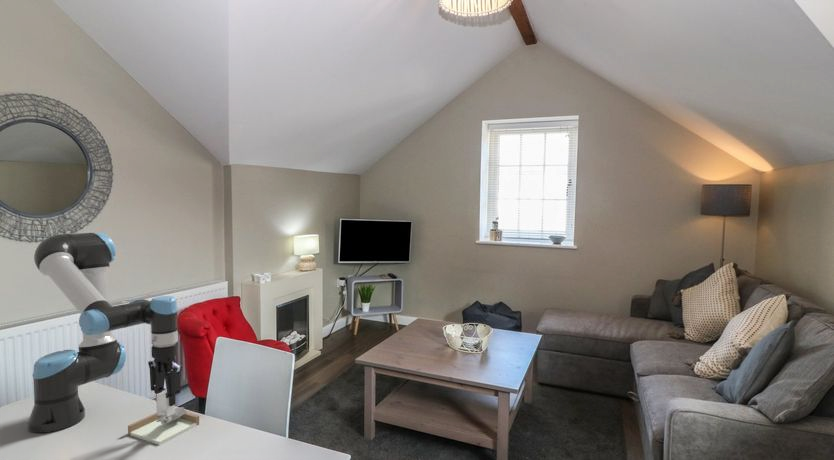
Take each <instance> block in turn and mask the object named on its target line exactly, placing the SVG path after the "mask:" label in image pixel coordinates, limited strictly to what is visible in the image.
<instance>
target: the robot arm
mask: <svg viewBox="0 0 834 460" xmlns="http://www.w3.org/2000/svg"><path fill="white" fill-rule="evenodd" d="M116 253H117V249H116V246H115V243H114V241H113V240H112V238H110V236H109V235H107V234H106V233H102V232H85V233H84V232H83V233H60V234H54V235H51V236H49V237H46V238H45V239H43V240H42V241H40V243H39V244H38V245H37V247H36V249H35V251H34V257H33V259H34V260H33V261H34V264H35V266H36V268H37V269H38V270H39V272H40V273H41V274H42V275H44V276H47V277H49V278H50V279H51V280H52V281H53V283H54V284H55V285H56V286H57V288H58V289H60V291H61V292H62V293H63V295H64V296H65V297H66V298H67V299H68V301H70V303H71V304H72V305H73V307H74V308H75V309H76V310H77V311H78V312H79V314H80V316H79V318H78V323H79V324H78V325H79V327H80V331H81V333H82V341H81V342H80V343H79V345H78V351H77V350H75V349H64V350H59V351H53V352H51V353H48V354H46V355H44V356H42V357H40V358H38V359H37V360H36V361H35V362H34V364H33V372H32V378H33V396H34V397H33V400H34V404H33V407H32V410H31V412H30V416H29V418H28V421H27V429H28V431H29V432H31V433H32V432H33V433H50V432H55V431H59V430H62V429H66V428H69V427H71V426H74V425H75V424H77V423H80V422H81V421H83V419H84V418H85V417H86V409H85V407H84V405H83V402H82V401H81V398H80V396H79V387H80V386H82V385H85V384H89V383H92V382H95V381H99V380H101V379H105V378H109V377H111V376H113V375H116V374H118V373H119V372H121V371H122V370H123V368H124V367H125V364H126V361H127V360H126V359H127V351H126V348H125V346H124V344H123V343H121V342H119V341H118V338H117V337H116V336H113V335H112V331H116V330H120V329H124V328H129V327H134V326H137V325H142V324H145V325H150V333H151V339H150V340H151V345H152V346H151V347H150V348H151V351H150V352H151V358H152V360H150V361H148V362H147V363H148V368H149V382H150V391H152V392H154V394H155V403H156V413H157V414H159V413H161V412H162V411H165V410H166V416H167V417H168V416H170V415H172V414H174V413H175V409H176V396H177V395H178V394H181V388H182V387H181V386H182V385H181V384H182V383H181V382H182V381H181V380H182V370H183V369H182V368H183V365H182V364H178V363H177V361H176V355H178V353H179V351H178V350H179V349H178V347H179V345H178V341H179V337H178V335H179V334H178V331H179V330H178V309H179V308H178V305H177V304H178V303H177V301H178V300H177V298H176V297H175V296H170V295H168V296H167V295H162V296H156V297H153V298H152V299H151V300H148V299H145V298H142V299H141V298H138V299H133V300H131V301H129V302H128V303H124V304H117V305H111V303H109V296H108V286H107V285H108V284H107V277H106V272H107V271H108V269H109V268H110V263H111V262H113V261H115V259H116ZM165 387H166V388H165ZM166 393H167V395H166Z"/></svg>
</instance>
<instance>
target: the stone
mask: <svg viewBox="0 0 834 460" xmlns="http://www.w3.org/2000/svg"><path fill="white" fill-rule="evenodd" d="M186 412H187V410H186V409H185V406H184V407H183V406H181V407H175V413H174V414H172V415H170V416H168V417H167V416H166V410H165V411H162V412H161V413H160V414H157V416H158V418H159V419H158V420H157V421H156V422H159V421H160V422H161V424H163V425H164V424H166V423H168V422H171V421H173V420H175V419H177V418H180V417H181V416H182V415H184V414H185V413H186Z"/></svg>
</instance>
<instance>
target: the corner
mask: <svg viewBox="0 0 834 460" xmlns="http://www.w3.org/2000/svg"><path fill="white" fill-rule="evenodd" d="M159 414H160V413H159ZM158 419H159V418H158V416H157V412H154V413H153V414H151V415H150V414H149V416H146V417H143V418H142V419H139V420H138V421H136V422H134V423H131V424H128V425H127V434H128V435H129V436H132V437H134V438H137V439H140V440H142V441H146V442H149V443H153V444H156V445H158V446H161V445H162V444H164V443H167V442H168V441H170V440H172V439H174V438H176V437H177V436H179V435H181V434H183V433H185V432H188V431H189V430H190V429H193V428H194V427H197V426H198V425H200V415H199V414H195V413H194V414H193V413H191V412H187V411H186V413H185V414H184V415H182V416H181V417H180V418H177V419H175V420H173V421H171V422H168V423H166V424H164V425H163V424H161V422H160V421H159V422H156V421H157V420H158Z"/></svg>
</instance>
